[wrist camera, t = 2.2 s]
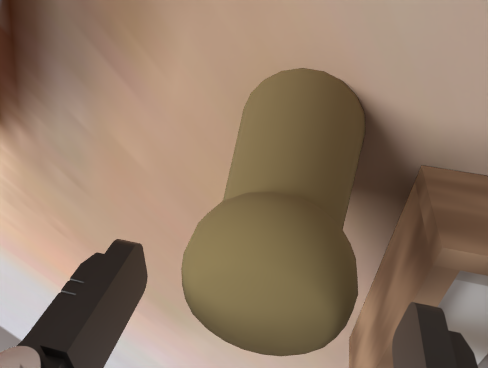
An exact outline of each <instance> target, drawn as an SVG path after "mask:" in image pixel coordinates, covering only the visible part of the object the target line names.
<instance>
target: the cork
mask: <svg viewBox="0 0 488 368" xmlns="http://www.w3.org/2000/svg"><path fill="white" fill-rule="evenodd" d="M364 134H365V117H364V111H363V109H362V107H361V105H360V102H359V100H358V98H357V96H356V95H355V94H354V93H353V91H352V90H351V89H350V88H349V87H348V86H347V85H346V84H345V83H344V82H343V81H341V80H339V79H337V78H335V77H333V76H331V75H329V74H328V73H326V72H324V71H317V70H311V69H305V68H300V69H293V70H287V71H281V72H279V73H277V74H275V75H273V76H271V77H269V78H267V79H265V80H264V81H263V82H262V83H261V84H260V85H259V86H258V87H257V88H256V89H255V90H254V91H253V92H252V93H251V94H250V96H249V99H248V101H247V103H246V105H245V107H244V110H243V114H242V119H241V123H240V127H239V132H238V136H237V141H236V145H235V150H234V154H233V159H232V163H231V168H230V172H229V176H228V181H227V185H226V190H225V194H224V199H223V201H222V202H221V203H220V204H219V205H218V206H216V207H215V208H214V209H213V210H211V211H210V212H209V213H208V214H207V215H206V216H205V217H204V218H203V219H202V220H201V221H200V222H199V223H198V225H197V227H196V229H195V231H194V233H193V235H192V237H191V239H190V241H189V243H188V245H187V247H186V249H185V252H184V255H183V262H182V268H181V269H182V286H183V291H184V295H185V299H186V302H187V304H188V306H189V308H190V310H191V312H192V314H193V315H194V316H195V317H196V318H197V319H198V320H199V321H200V322H201V323H202V324H203V325H204V326H205V327H206V328H207V329H208V330H209V331H211V332H212V333H214V334H215V335H217V336H218V337H220V338H221V339H223V340H224V341H226V342H228V343H230V344H232V345H234V346H237V347H239V348H241V349H244V350H248V351H251V352H255V353H259V354H264V355H274V356H288V355H299V354H306V353H309V352H312V351H315V350H318V349H321V348H323V347H325V346H326V345H327V344H328V343H330V342H331V341H332V340H334V339H335V338H336V337H337V336H338V335H339V333H340V332H341V331H342V330H343V329H344V327H345V326H346V324H347V322H348V320H349V318H350V316H351V314H352V311H353V309H354V305H355V302H356V299H357V296H358V281H357V268H356V258H355V255H354V252H353V250H352V247H351V244H350V242H349V240H348V239H347V237H346V235H345V233H344V232H343V230H342V229H343V225H344V221H345V217H346V212H347V208H348V204H349V199H350V195H351V191H352V186H353V182H354V178H355V173H356V169H357V165H358V160H359V156H360V152H361V147H362V143H363V139H364Z"/></svg>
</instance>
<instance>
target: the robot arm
mask: <svg viewBox="0 0 488 368" xmlns="http://www.w3.org/2000/svg"><path fill="white" fill-rule="evenodd" d="M146 284H147V269H146V264H145V258H144V252H143V247H142V245H141V244H140V243H135V242H130V241H125V240H121V239H117V240H115V241H114V242H113V243H112V244H111V245H110V247H109V248H108V250H107V251H106V252H105V254H102V253H95V254H94V255H92V256H91V257H90V258H88V259H87V260H86V261H84V262H83V263H81V264H80V266H79V267H78V268H77V270H76V271H75V272H74V274H73V275H72V276H71V278H70V281H68V282H67V283H66V284H65V286H64V287H63V288H62V290H61V293H58V295H57V296H56V297H55V299H54V300H53V301H52V303H51V304H50V305H49V307H48V308H47V309H46V311H45V312H44V313H43V315H42V316H41V317H40V318H39V320H38V321H37V322H36V324H35V325H34V326H33V328H32V329H31V330H30V332H29V333H28V334H27V336H26V337H25V338H24V339H23V340H22V341H21V342H20V343H19V344H18V345H17V346H16V347H12V348H8V349H6V350H4V351H2V352H0V368H103V367H104V366H105V364H106V362H107V360H108V358H109V356H110V354H111V353H112V351H113V349H114V347H115V345H116V343H117V341H118V340H119V338H120V336H121V334H122V332H123V330H124V328H125V327H126V325H127V323H128V321H129V319H130V317H131V315H132V314H133V312H134V310H135V308H136V306H137V304H138V302H139V301H140V299H141V297H142V295H143V293H144V291H145V288H146ZM392 357H393V367H394V368H478V365H477V362H476V358H475V355H474V352H473V351H472V349H471V348H470V346H469V345H468V343H467V342H466V340H465V339H464V337H463V336H462V334H461V333H458V332H454V331H449V330H448V327H447V322H446V318H445V314H444V312H443V310H442V309H441V308H439V307H434V306H430V305H425V304H420V303H415V302H411V303H410V304H409V305H408V307H407V309H406V311H405V313H404V315H403V317H402V319H401V321H400V323H399V324H398V326H397V328H396V330H395V333H394V336H393V342H392Z"/></svg>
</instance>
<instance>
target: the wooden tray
mask: <svg viewBox="0 0 488 368" xmlns="http://www.w3.org/2000/svg"><path fill="white" fill-rule="evenodd" d="M411 302H415V303H420V304H425V305H430V306H434V307H439V308H441V309H442V310H443V312H444V314H445V318H446V322H447V327H448V330H449V331H454V332H458V333H461V334H462V336H463V337H464V339H465V340H466V342H467V343H468V345H469V346H470V348H471V349H472V351H473V352H474V355H475V358H476V362H477V365H478V368H488V176H485V175H479V174H472V173H466V172H460V171H453V170H447V169H441V168H435V167H428V166H422V165H421V168H420V170H419V173H418V175H417V177H416V180H415V182H414V185H413V187H412V189H411V192H410V194H409V197H408V199H407V202H406V204H405V206H404V209H403V211H402V214H401V216H400V218H399V221H398V223H397V226H396V228H395V230H394V233H393V235H392V238H391V240H390V242H389V245H388V247H387V250H386V252H385V255H384V257H383V259H382V262H381V264H380V267H379V269H378V271H377V274H376V276H375V279H374V281H373V283H372V286H371V288H370V291H369V293H368V295H367V298H366V300H365V303H364V305H363V307H362V310H361V312H360V315H359V317H358V320H357V322H356V324H355V327H354V329H353V332H352V334H351V336H350V339H349V368H394V367H393V357H392V342H393V336H394V333H395V330H396V328H397V326H398V324H399V323H400V321H401V319H402V317H403V315H404V313H405V311H406V309H407V307H408V305H409V304H410V303H411Z"/></svg>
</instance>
